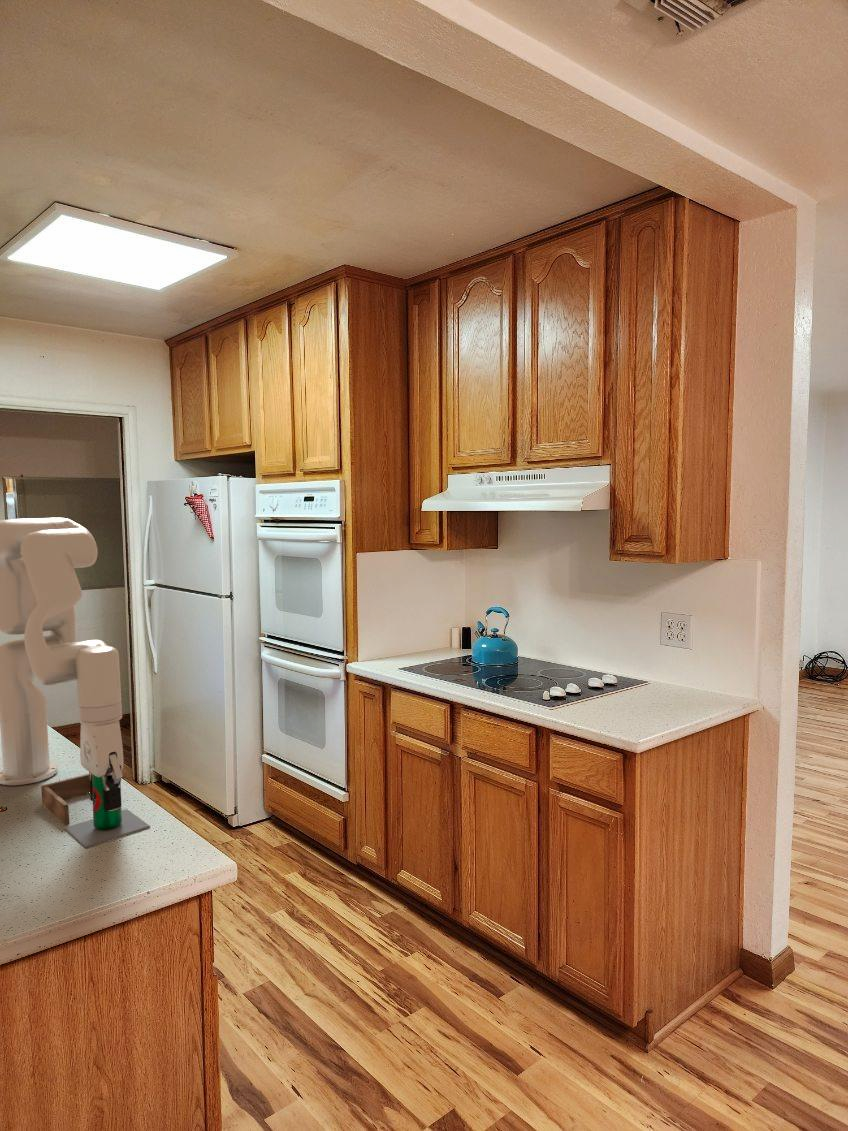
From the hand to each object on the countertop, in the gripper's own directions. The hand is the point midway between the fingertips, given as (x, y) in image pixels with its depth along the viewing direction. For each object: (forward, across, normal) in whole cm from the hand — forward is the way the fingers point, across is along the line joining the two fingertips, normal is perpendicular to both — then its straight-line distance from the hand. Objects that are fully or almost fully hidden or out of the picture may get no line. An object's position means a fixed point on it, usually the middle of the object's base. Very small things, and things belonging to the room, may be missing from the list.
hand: (105, 803), depth 146 cm
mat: (+5, 0, 0) cm, 5 cm away
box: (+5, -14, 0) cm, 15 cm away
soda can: (+5, 0, 0) cm, 5 cm away
